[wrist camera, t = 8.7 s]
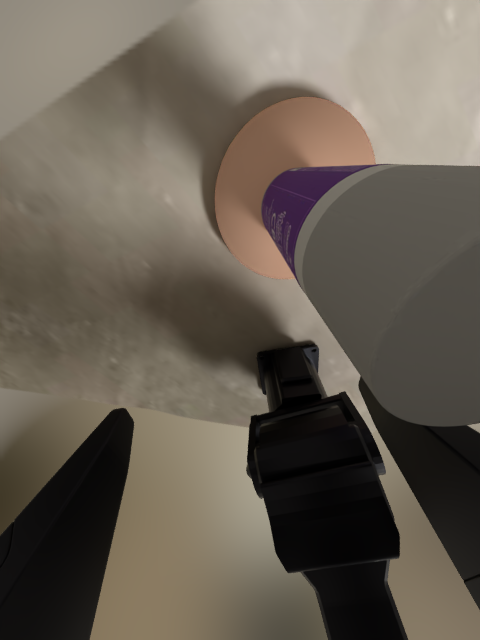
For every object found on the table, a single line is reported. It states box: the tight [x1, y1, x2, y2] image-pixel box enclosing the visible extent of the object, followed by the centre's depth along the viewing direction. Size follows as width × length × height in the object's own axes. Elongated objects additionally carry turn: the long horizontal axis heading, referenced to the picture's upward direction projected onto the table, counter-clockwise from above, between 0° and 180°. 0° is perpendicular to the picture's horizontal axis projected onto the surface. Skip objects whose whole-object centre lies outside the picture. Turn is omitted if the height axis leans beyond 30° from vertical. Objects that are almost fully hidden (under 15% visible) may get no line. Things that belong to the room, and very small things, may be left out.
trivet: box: [215, 97, 376, 279], centre depth 17 cm, size 11×11×1 cm
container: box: [261, 164, 480, 426], centre depth 10 cm, size 5×5×15 cm
